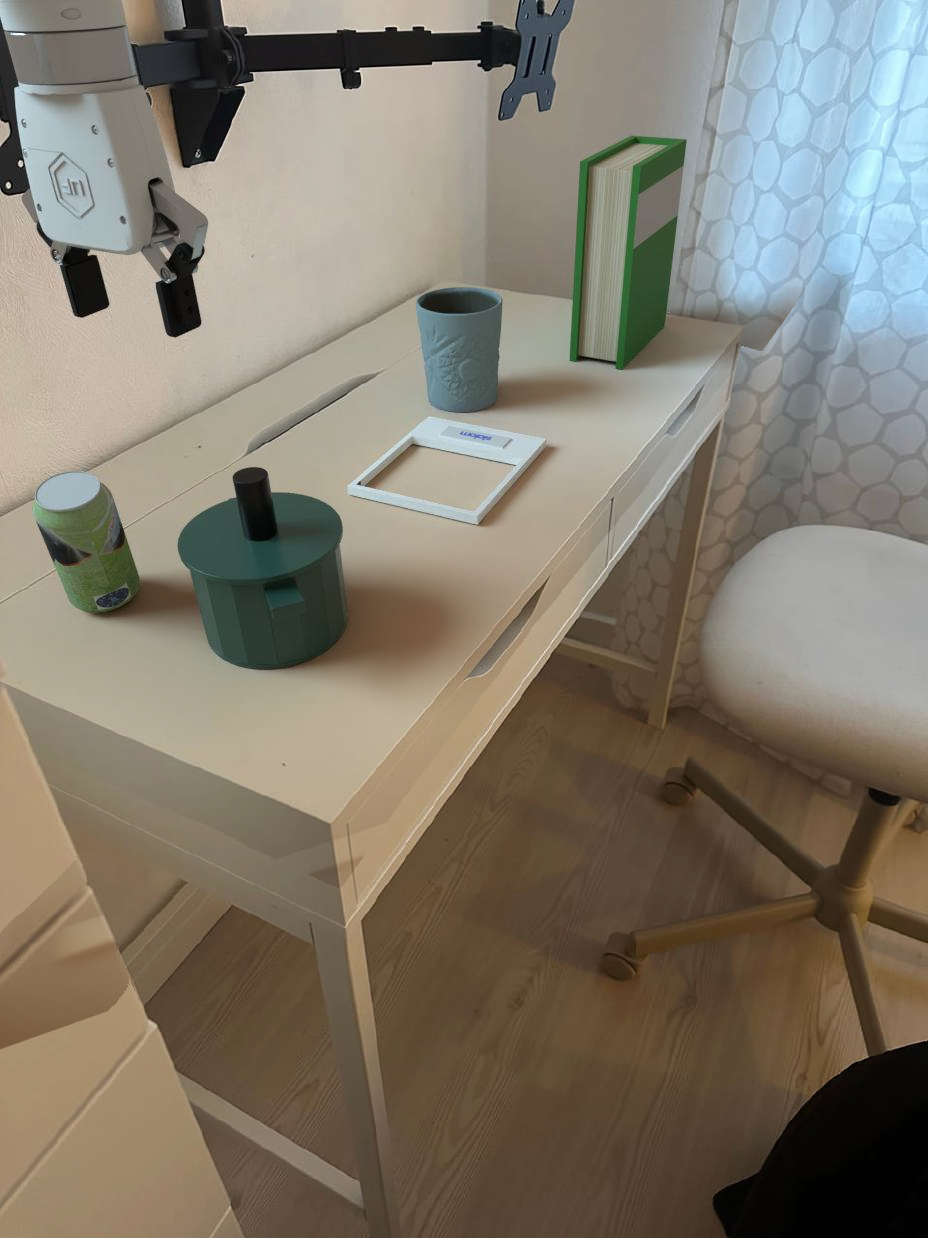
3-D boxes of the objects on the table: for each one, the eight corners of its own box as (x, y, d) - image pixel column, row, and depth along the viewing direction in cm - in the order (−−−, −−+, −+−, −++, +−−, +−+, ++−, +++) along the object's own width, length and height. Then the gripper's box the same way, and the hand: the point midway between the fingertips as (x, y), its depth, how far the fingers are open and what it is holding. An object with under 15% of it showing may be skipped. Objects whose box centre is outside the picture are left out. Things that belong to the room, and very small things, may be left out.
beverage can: (136, 571, 81) (101, 451, 74) (152, 615, 76) (115, 491, 69) (64, 590, 79) (20, 469, 72) (74, 636, 74) (28, 510, 66)
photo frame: (546, 437, 98) (477, 514, 85) (546, 446, 99) (477, 524, 86) (428, 414, 103) (346, 484, 91) (429, 423, 104) (348, 494, 91)
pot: (226, 707, 67) (204, 617, 61) (192, 586, 79) (171, 502, 74) (374, 667, 70) (365, 578, 65) (319, 556, 83) (307, 474, 77)
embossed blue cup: (478, 421, 105) (477, 319, 97) (404, 405, 108) (398, 306, 101) (515, 389, 112) (517, 292, 104) (445, 375, 116) (442, 280, 108)
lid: (193, 608, 63) (174, 535, 60) (170, 522, 73) (152, 455, 69) (363, 567, 67) (356, 496, 63) (320, 491, 76) (311, 425, 72)
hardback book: (622, 369, 116) (640, 166, 101) (569, 360, 119) (580, 161, 104) (664, 326, 128) (686, 139, 114) (615, 318, 131) (631, 135, 116)
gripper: (-61, 63, 59) (21, 319, 70) (127, 73, 53) (188, 356, 63) (31, 51, 65) (95, 292, 75) (214, 59, 58) (256, 323, 68)
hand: (137, 321), depth 69 cm, fingers open, 9 cm apart
